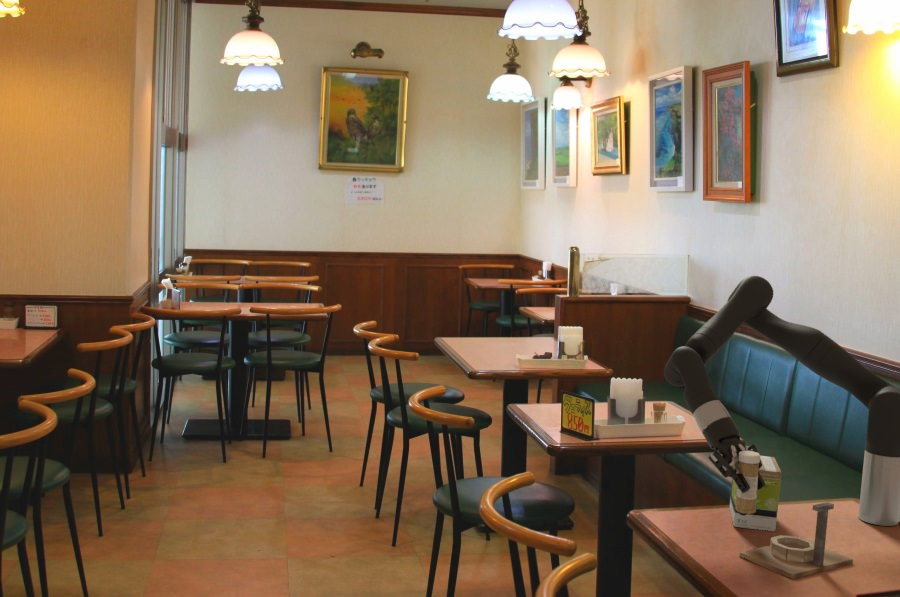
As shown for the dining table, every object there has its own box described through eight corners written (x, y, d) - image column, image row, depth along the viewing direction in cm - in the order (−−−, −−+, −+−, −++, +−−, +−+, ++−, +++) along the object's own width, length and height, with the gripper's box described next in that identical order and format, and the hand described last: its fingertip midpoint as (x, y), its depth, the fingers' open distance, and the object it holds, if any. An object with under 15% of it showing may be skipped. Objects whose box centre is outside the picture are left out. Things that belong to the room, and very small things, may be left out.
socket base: (798, 542, 230) (804, 483, 228) (852, 563, 218) (858, 500, 217) (739, 556, 219) (744, 493, 217) (792, 579, 207) (798, 513, 206)
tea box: (777, 532, 236) (782, 471, 235) (732, 527, 238) (737, 466, 237) (770, 513, 251) (775, 455, 249) (728, 508, 253) (733, 451, 251)
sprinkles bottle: (736, 506, 229) (740, 449, 228) (757, 510, 227) (761, 451, 226) (733, 512, 225) (737, 453, 224) (754, 515, 223) (758, 456, 222)
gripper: (727, 430, 239) (765, 493, 230) (685, 436, 231) (722, 502, 223) (746, 412, 234) (786, 476, 225) (703, 418, 226) (742, 485, 218)
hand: (754, 489), depth 224 cm, fingers closed on sprinkles bottle, 4 cm apart
